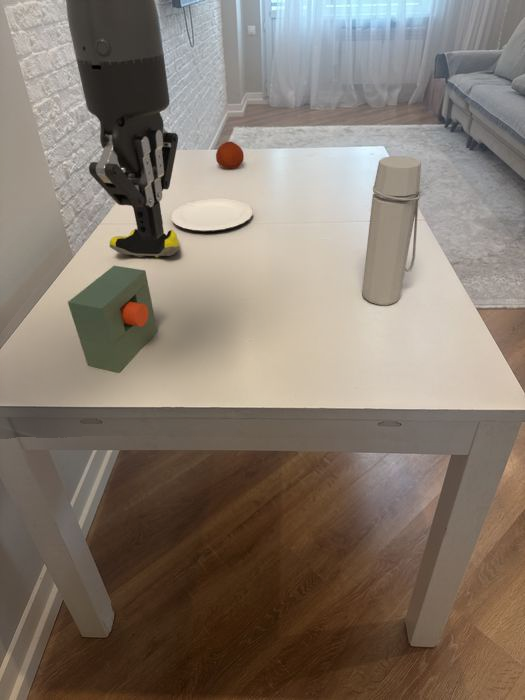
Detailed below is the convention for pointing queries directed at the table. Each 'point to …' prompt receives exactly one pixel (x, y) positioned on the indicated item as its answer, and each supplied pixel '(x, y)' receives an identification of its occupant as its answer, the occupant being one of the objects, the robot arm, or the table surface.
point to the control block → (112, 318)
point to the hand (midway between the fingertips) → (152, 236)
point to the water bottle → (391, 228)
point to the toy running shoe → (146, 245)
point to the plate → (211, 215)
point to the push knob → (134, 313)
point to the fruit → (229, 155)
